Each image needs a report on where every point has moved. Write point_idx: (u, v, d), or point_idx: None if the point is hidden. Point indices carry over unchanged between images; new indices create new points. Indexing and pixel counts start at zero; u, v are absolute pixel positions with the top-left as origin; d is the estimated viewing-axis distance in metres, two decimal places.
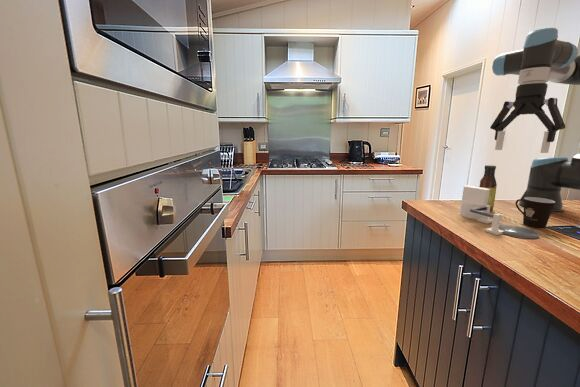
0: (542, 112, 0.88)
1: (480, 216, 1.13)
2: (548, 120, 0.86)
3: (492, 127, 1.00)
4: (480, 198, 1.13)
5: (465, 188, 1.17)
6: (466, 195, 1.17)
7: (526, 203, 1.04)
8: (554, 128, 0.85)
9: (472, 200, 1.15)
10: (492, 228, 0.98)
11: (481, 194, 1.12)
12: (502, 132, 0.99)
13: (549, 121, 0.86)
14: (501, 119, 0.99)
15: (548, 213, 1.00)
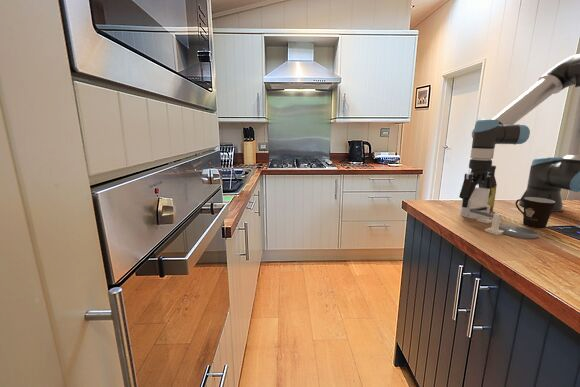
0: (471, 183, 1.13)
1: (480, 216, 1.13)
2: None
3: None
4: (480, 198, 1.12)
5: None
6: None
7: (526, 203, 1.04)
8: None
9: (472, 200, 1.15)
10: (492, 228, 0.98)
11: (481, 194, 1.12)
12: None
13: None
14: (487, 187, 1.17)
15: (548, 213, 1.00)
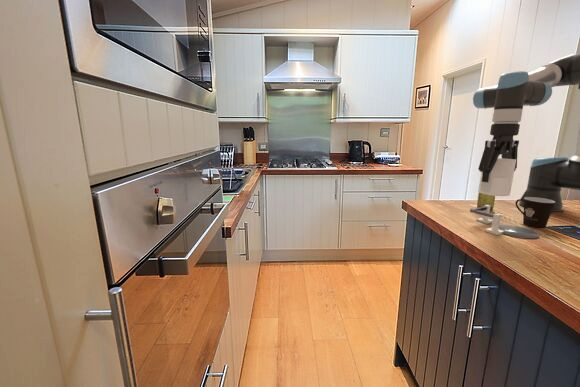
0: (493, 152, 0.93)
1: (504, 192, 0.93)
2: None
3: None
4: (504, 170, 0.93)
5: None
6: None
7: (526, 203, 1.04)
8: None
9: (493, 174, 0.95)
10: (492, 228, 0.98)
11: (505, 165, 0.92)
12: None
13: None
14: (512, 158, 0.97)
15: (548, 213, 1.00)
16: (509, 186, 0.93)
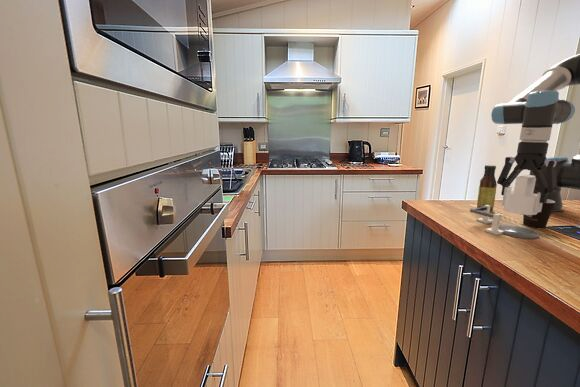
0: (540, 172, 0.90)
1: None
2: (543, 181, 0.90)
3: (499, 182, 1.01)
4: (532, 187, 0.95)
5: (528, 180, 0.91)
6: (527, 189, 0.92)
7: None
8: (546, 191, 0.89)
9: (528, 193, 0.94)
10: (492, 228, 0.98)
11: (533, 182, 0.95)
12: (509, 188, 0.99)
13: (544, 183, 0.90)
14: (506, 174, 1.00)
15: (548, 213, 1.00)
16: None
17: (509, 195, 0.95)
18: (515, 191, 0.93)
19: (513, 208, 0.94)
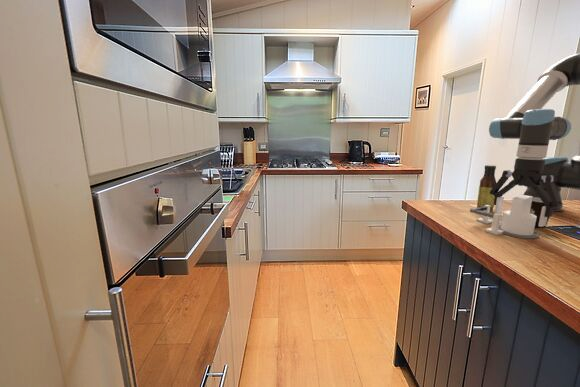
0: (540, 187, 0.91)
1: None
2: (545, 196, 0.89)
3: (491, 192, 1.03)
4: (528, 207, 0.97)
5: (524, 201, 0.93)
6: (523, 209, 0.94)
7: None
8: (551, 205, 0.88)
9: (525, 213, 0.95)
10: (492, 228, 0.98)
11: (529, 203, 0.96)
12: (501, 198, 1.02)
13: (546, 197, 0.89)
14: (500, 186, 1.02)
15: None
16: None
17: (506, 215, 0.97)
18: (511, 212, 0.95)
19: (510, 228, 0.96)
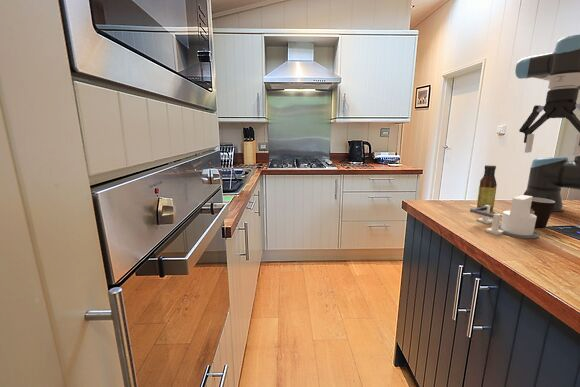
0: (574, 116, 0.90)
1: None
2: None
3: (521, 130, 1.03)
4: (528, 207, 0.97)
5: (524, 201, 0.93)
6: (523, 209, 0.94)
7: None
8: None
9: (524, 213, 0.95)
10: (492, 228, 0.98)
11: (529, 203, 0.96)
12: (531, 135, 1.01)
13: None
14: (530, 123, 1.01)
15: (548, 213, 1.00)
16: None
17: (506, 215, 0.97)
18: (511, 212, 0.95)
19: (510, 228, 0.96)
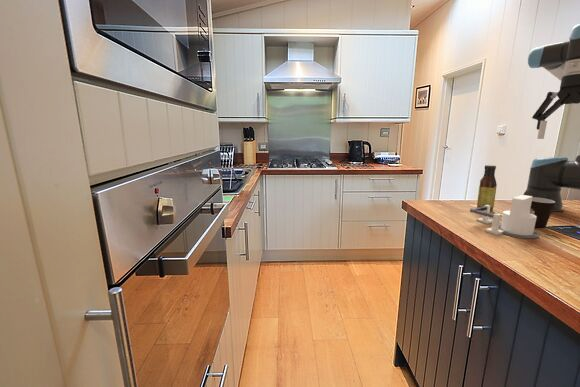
0: None
1: None
2: None
3: (534, 117, 1.04)
4: (528, 207, 0.97)
5: (523, 201, 0.93)
6: (523, 209, 0.94)
7: None
8: None
9: (524, 213, 0.95)
10: (492, 228, 0.98)
11: (529, 203, 0.96)
12: (544, 121, 1.03)
13: None
14: (544, 109, 1.03)
15: (548, 213, 1.00)
16: None
17: (505, 215, 0.97)
18: (511, 212, 0.95)
19: (510, 228, 0.96)
